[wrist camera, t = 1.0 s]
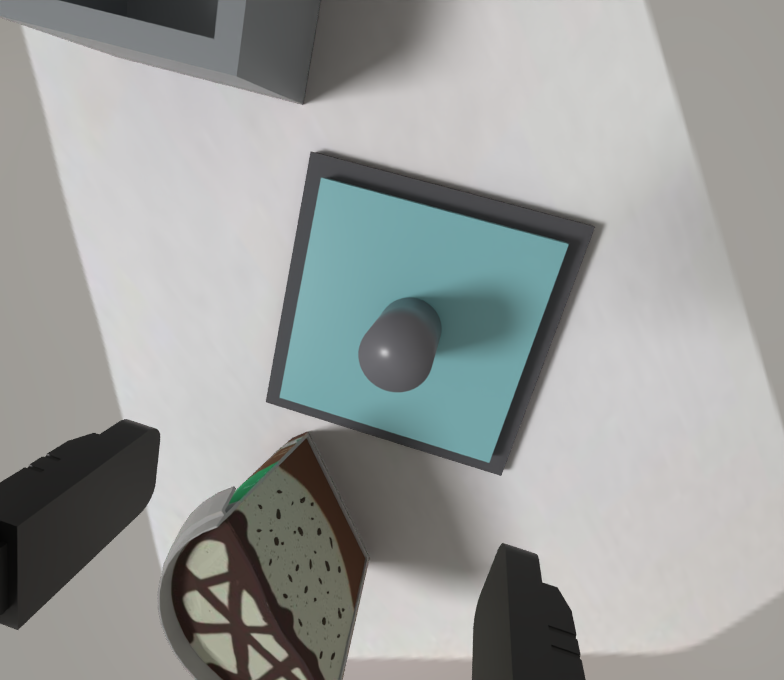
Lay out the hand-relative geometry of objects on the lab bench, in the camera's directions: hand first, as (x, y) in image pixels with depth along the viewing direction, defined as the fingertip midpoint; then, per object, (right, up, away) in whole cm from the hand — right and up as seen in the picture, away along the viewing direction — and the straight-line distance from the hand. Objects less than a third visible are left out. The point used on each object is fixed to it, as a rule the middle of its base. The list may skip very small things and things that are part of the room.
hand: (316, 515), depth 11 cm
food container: (-4, -7, +21) cm, 22 cm away
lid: (+3, +5, +15) cm, 16 cm away
